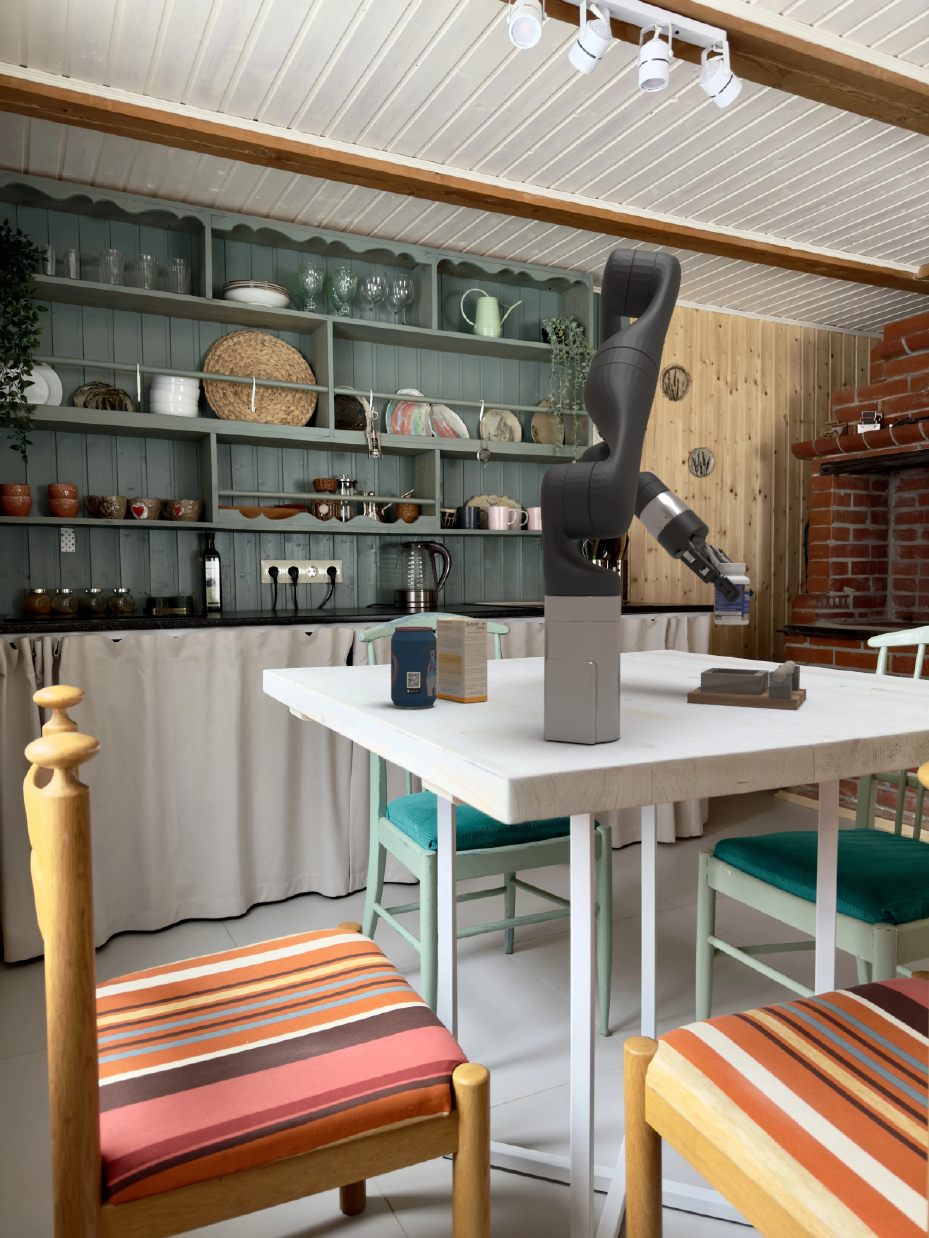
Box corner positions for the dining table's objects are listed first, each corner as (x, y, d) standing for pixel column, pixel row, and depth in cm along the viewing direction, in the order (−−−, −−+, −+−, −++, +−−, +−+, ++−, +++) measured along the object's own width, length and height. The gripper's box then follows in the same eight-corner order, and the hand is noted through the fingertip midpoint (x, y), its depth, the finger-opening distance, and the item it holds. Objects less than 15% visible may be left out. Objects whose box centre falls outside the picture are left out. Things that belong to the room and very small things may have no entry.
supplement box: (489, 701, 134) (489, 618, 133) (464, 703, 131) (464, 619, 130) (459, 695, 140) (459, 616, 140) (435, 697, 138) (435, 617, 137)
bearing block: (796, 710, 125) (797, 669, 124) (687, 702, 132) (687, 664, 132) (806, 698, 137) (806, 661, 137) (705, 692, 144) (706, 657, 144)
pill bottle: (751, 625, 132) (752, 563, 131) (715, 625, 133) (716, 563, 132) (746, 623, 137) (748, 563, 136) (712, 622, 138) (713, 563, 138)
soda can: (392, 703, 131) (391, 626, 131) (436, 702, 132) (436, 626, 131) (389, 710, 124) (389, 628, 124) (436, 709, 125) (436, 628, 124)
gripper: (671, 505, 133) (745, 582, 126) (705, 510, 144) (775, 581, 138) (639, 539, 136) (710, 616, 130) (675, 542, 148) (742, 612, 141)
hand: (743, 597), depth 134 cm, fingers closed on pill bottle, 5 cm apart
